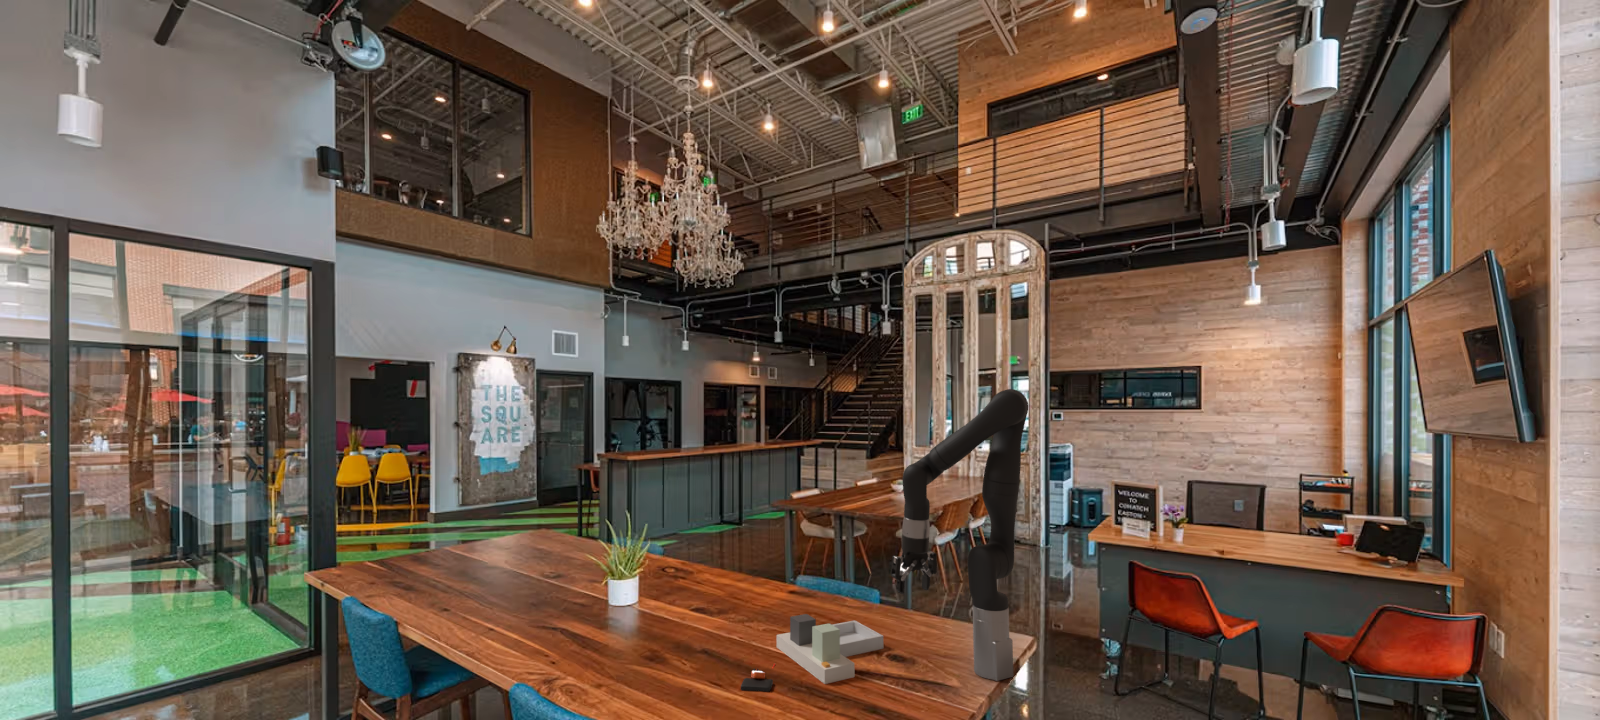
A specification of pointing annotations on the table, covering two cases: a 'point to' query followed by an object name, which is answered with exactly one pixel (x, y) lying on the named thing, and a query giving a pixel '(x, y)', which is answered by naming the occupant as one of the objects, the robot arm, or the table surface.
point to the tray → (858, 638)
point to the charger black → (801, 629)
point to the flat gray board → (816, 661)
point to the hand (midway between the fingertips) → (913, 591)
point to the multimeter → (757, 682)
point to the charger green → (826, 642)
